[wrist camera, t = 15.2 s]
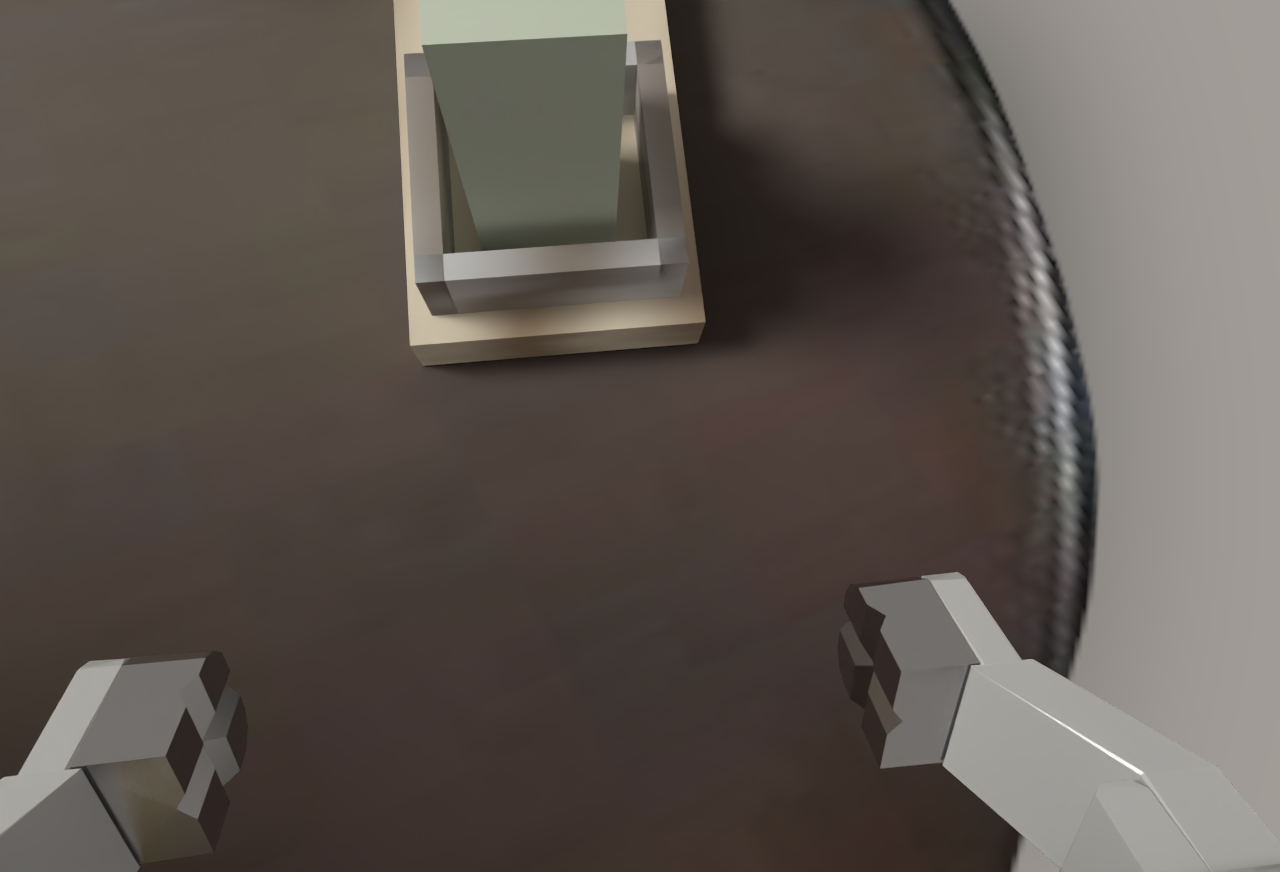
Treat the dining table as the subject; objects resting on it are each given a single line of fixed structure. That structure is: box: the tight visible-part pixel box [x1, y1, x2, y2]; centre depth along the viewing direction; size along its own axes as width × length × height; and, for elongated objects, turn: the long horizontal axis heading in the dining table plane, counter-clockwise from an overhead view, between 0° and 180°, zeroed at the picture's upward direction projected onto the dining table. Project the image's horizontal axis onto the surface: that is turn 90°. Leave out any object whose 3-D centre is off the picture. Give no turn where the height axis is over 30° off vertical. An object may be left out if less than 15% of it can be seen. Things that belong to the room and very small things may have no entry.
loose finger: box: [419, 0, 627, 251], centre depth 22 cm, size 4×4×10 cm
